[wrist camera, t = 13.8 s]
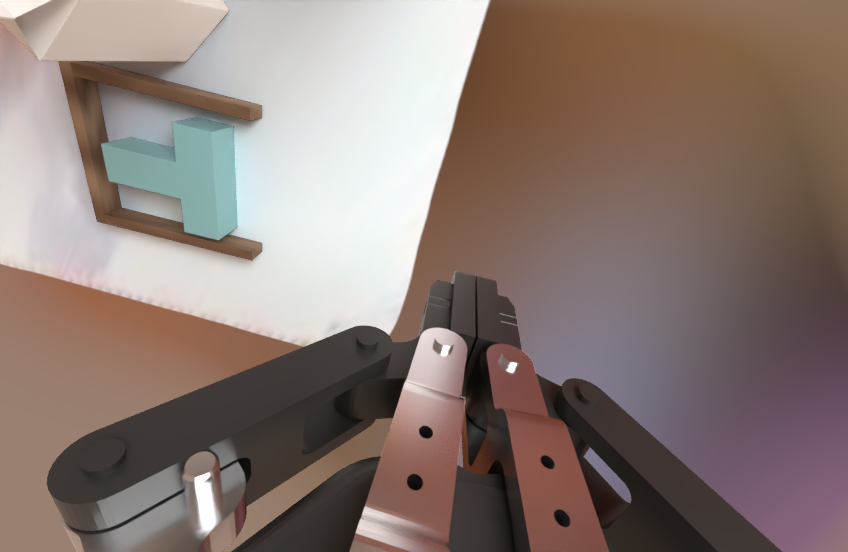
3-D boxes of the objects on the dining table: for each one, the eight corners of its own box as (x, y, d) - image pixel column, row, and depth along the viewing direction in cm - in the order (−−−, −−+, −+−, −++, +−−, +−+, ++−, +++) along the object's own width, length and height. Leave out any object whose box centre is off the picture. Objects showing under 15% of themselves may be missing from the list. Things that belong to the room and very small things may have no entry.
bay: (81, 59, 39) (57, 59, 37) (262, 105, 39) (249, 107, 37) (114, 214, 48) (97, 221, 45) (262, 251, 48) (252, 260, 46)
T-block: (124, 99, 40) (92, 102, 37) (233, 126, 41) (211, 132, 37) (142, 203, 46) (116, 214, 43) (237, 227, 47) (218, 240, 43)
